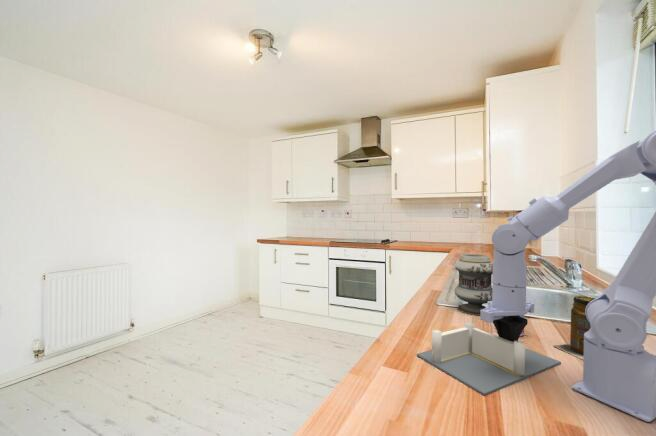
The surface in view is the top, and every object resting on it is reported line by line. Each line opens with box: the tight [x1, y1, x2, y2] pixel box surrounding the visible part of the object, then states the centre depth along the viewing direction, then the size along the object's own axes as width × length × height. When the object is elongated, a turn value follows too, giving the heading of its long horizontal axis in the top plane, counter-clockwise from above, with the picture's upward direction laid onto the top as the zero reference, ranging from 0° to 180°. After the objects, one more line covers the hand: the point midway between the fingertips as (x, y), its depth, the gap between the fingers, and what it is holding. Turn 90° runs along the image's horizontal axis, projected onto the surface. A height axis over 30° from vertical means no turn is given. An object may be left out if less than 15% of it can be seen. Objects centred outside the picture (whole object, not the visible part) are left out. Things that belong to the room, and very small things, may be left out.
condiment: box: [552, 295, 596, 361], centre depth 65 cm, size 7×8×12 cm
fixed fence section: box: [431, 321, 475, 363], centre depth 62 cm, size 12×2×6 cm, turn 117°
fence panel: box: [472, 327, 526, 375], centre depth 58 cm, size 10×2×6 cm, turn 27°
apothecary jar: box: [454, 253, 493, 316], centre depth 94 cm, size 12×12×18 cm
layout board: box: [416, 347, 562, 396], centre depth 61 cm, size 16×24×1 cm, turn 117°
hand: (507, 352), depth 58 cm, fingers closed
